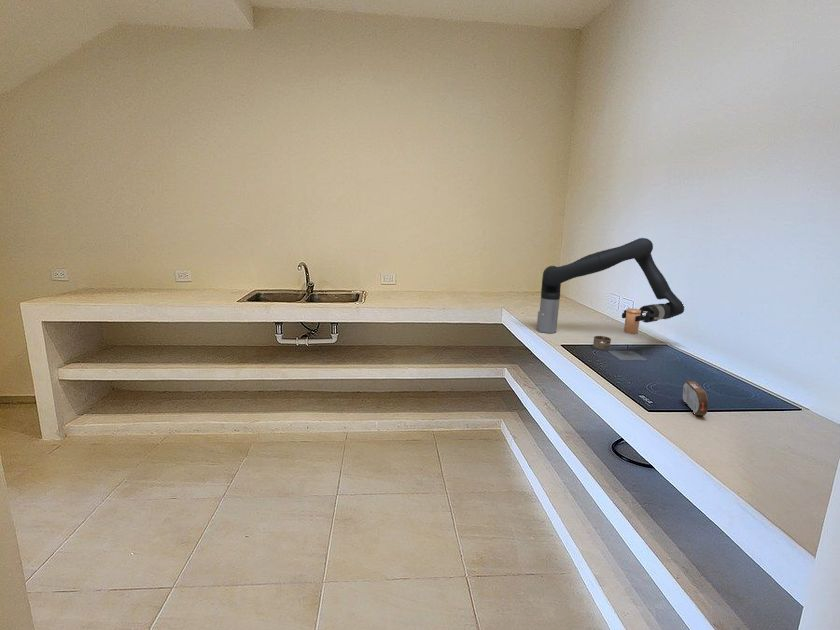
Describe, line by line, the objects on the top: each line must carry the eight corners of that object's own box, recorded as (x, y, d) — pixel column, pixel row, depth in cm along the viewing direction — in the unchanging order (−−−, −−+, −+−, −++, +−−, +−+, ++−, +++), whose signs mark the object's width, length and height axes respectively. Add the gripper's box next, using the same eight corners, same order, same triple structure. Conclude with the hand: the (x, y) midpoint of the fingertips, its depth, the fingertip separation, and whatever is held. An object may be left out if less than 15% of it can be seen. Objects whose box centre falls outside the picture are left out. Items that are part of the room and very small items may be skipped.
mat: (620, 360, 201) (620, 359, 201) (607, 351, 212) (607, 350, 212) (647, 361, 202) (647, 360, 202) (633, 352, 213) (633, 351, 213)
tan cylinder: (627, 334, 202) (630, 311, 199) (620, 330, 207) (623, 308, 205) (640, 334, 202) (643, 311, 200) (633, 330, 208) (636, 308, 205)
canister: (596, 350, 214) (598, 340, 213) (590, 345, 221) (591, 335, 220) (612, 350, 214) (613, 340, 213) (605, 345, 221) (606, 336, 220)
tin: (706, 420, 147) (711, 395, 145) (695, 419, 148) (700, 394, 146) (688, 400, 162) (693, 377, 160) (678, 399, 162) (682, 376, 160)
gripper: (637, 301, 216) (615, 305, 206) (668, 308, 204) (646, 312, 195) (635, 317, 217) (613, 322, 208) (666, 325, 206) (644, 329, 197)
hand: (629, 317), depth 201 cm, fingers closed on tan cylinder, 5 cm apart
